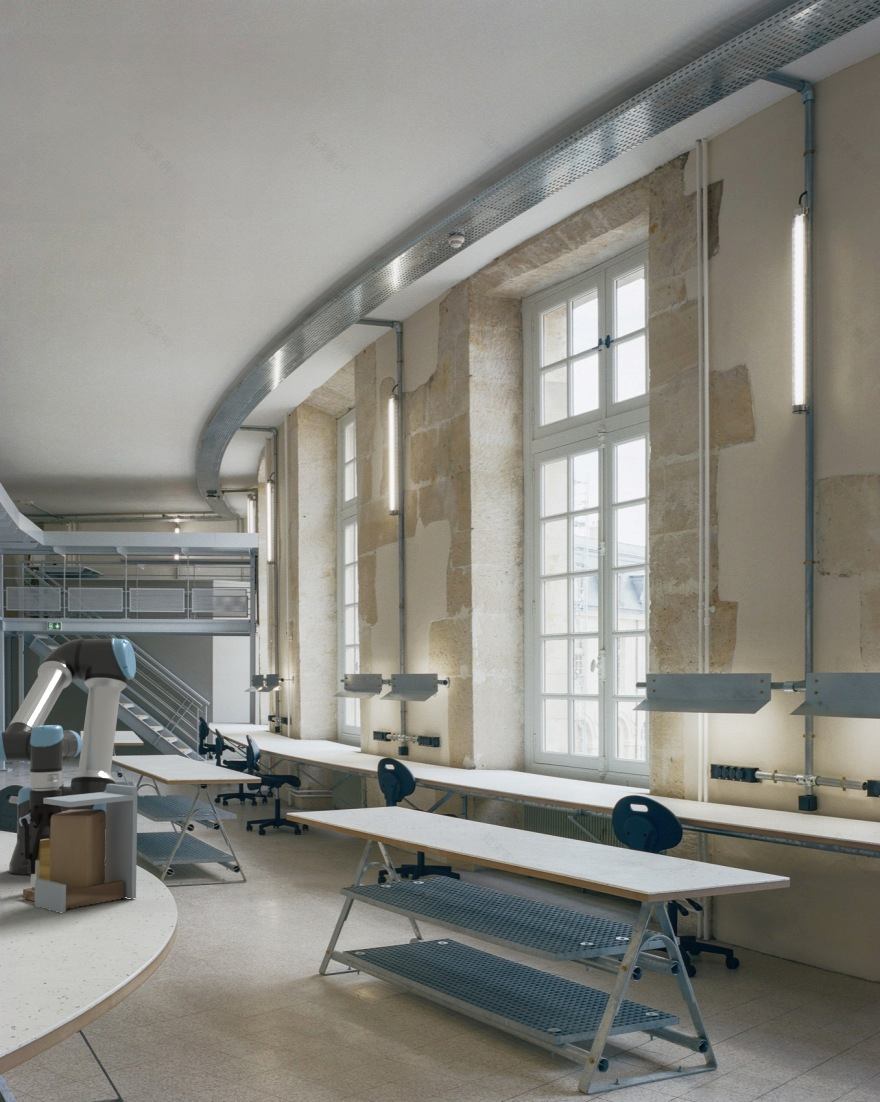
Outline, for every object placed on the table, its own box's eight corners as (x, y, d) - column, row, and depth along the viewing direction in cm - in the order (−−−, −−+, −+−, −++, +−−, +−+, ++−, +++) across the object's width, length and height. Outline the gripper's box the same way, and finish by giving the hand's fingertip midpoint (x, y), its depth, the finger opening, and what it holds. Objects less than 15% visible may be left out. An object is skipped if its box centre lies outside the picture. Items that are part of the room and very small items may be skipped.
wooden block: (106, 893, 264) (107, 808, 266) (89, 903, 254) (90, 814, 256) (66, 893, 265) (67, 809, 267) (47, 902, 255) (48, 814, 257)
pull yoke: (10, 894, 266) (11, 843, 268) (67, 884, 277) (68, 835, 279) (65, 909, 249) (66, 855, 250) (124, 898, 260) (124, 846, 261)
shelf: (34, 906, 254) (37, 790, 257) (108, 892, 268) (110, 783, 270) (60, 913, 246) (63, 794, 248) (135, 899, 260) (137, 786, 262)
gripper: (20, 793, 264) (17, 893, 262) (85, 786, 277) (83, 882, 274) (5, 790, 269) (2, 889, 267) (69, 784, 282) (68, 878, 279)
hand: (43, 885), depth 271 cm, fingers closed on pull yoke, 4 cm apart
